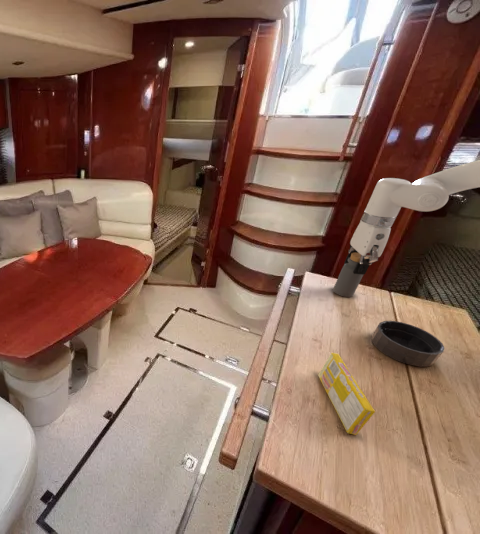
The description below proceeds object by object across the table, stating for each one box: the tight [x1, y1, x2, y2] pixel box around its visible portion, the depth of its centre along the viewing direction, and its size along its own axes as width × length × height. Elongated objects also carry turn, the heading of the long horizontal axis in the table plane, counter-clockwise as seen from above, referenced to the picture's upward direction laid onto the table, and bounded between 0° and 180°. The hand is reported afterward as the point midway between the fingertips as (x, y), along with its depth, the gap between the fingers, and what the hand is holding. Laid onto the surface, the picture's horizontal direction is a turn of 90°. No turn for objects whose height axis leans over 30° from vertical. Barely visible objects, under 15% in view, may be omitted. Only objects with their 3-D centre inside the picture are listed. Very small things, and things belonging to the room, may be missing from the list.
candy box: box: [317, 352, 376, 436], centre depth 69 cm, size 16×2×8 cm, turn 165°
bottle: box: [332, 253, 369, 298], centre depth 105 cm, size 6×6×15 cm
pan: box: [370, 320, 445, 367], centre depth 84 cm, size 13×13×5 cm
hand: (354, 268), depth 104 cm, fingers closed on bottle, 5 cm apart
